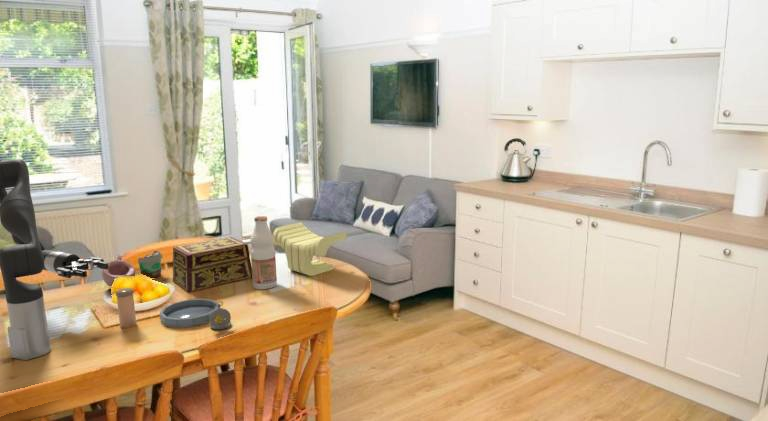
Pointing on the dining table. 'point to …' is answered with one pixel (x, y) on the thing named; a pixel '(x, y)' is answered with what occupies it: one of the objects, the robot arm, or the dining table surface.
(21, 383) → the dining table surface
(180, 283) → the decorative box
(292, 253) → the slatted curved stool
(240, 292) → the dining table surface
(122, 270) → the mortar and pestle
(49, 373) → the dining table surface
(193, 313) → the round tray
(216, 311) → the grey rounded piece
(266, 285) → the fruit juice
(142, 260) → the food container
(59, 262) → the robot arm
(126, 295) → the spice jar
